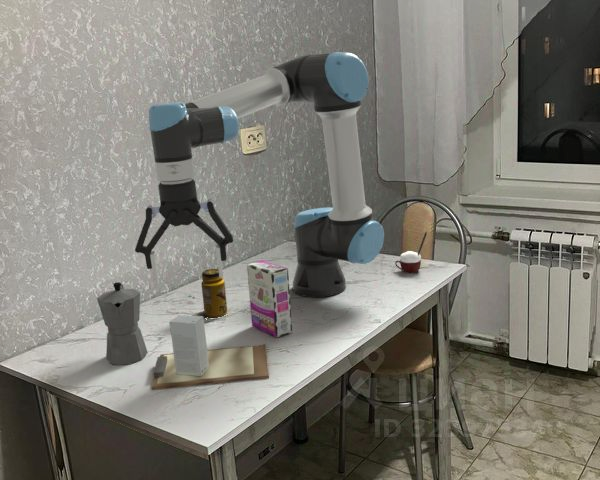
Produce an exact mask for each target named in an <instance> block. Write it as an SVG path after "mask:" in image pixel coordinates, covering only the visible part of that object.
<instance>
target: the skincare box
mask: <svg viewBox="0 0 600 480" xmlns="http://www.w3.org/2000/svg"><path fill="white" fill-rule="evenodd" d="M169 327H170V329H169V330H170V335H171V342H172V343H171V345H172V349H173V351H172V352H173V353H174V361H175V368H176V374H179V375H191V376H202V375H203V374H204V373H205V372H206V371H207V370H208V369H209V361H208V353H207V350H208V347H207V346H208V345H207V338H206V329H205V322H204V319H203V316H194V315H188V314H187V315H186V314H185V315H183V314H177V316H175V317H174V318H173V319H172V320H170V321H169Z"/></svg>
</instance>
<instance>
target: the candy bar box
mask: <svg viewBox="0 0 600 480" xmlns="http://www.w3.org/2000/svg"><path fill="white" fill-rule="evenodd" d="M246 269H247V270H246V271H247V280H248V281H247V283H248V293H249V294H248V295H249V305H250V316H251V317H250V318H251V326H252V327H253V328H255V329H257V330H260V331H262V332H264V333H266V334H268V335H269V336H272V337H275V338H281V337H284V336H287V335H289V334H292V333H293V323H292V310H291V309H292V308H291V293H290V279H289V268H287V267H284V266H281V265H278V264H276V263H275V264H274V263H271V262H268V261H265V260H258V261H254V262H250V263H248V264H246Z"/></svg>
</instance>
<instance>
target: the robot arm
mask: <svg viewBox="0 0 600 480" xmlns="http://www.w3.org/2000/svg"><path fill="white" fill-rule="evenodd" d="M369 79H370V78H369V74H368V70H367V68H366V66H365V64H364V62H363V61H362V59H360V58H359V57H358V56H357V55H355V54H354V53H351V52H340V51H335V52H334V51H333V52H326V53H318V54H306V55H300V56H297V57H295V58H293V59H291V60H287V61H286V62H285V61H284V62H283V63H280V64H279V65H276V66H273V67H270V68H268V69H266V70H265V71H264V73H263V75H260V76H258V77H255V78H252V79H249V80H247V81H244V82H241V83H238V84H236V85H233V86H231V87H230V86H229V87H228V88H225V89H222V90H220V91H216V92H214V93H212V94H208V95H206V96H203V97H200V98H196V99H195V100H192V101H189V102H187V103H184V102H167V103H159V104H153V105H151V106H150V107H149V109H148V124H149V127H148V129H149V131H150V138H151V143H152V145H151V146H152V150H153V151H152V153H153V158H154V162H155V163H154V164H155V174H156V178H157V179H156V180H157V181H158V182H159V183H158V185H157V187H158V194H159V195H158V196H159V201H160V205H159V206H152V205H147V207H146V209H145V220H144V223H143V226H142V228H141V231H140V234H139V236H138V240H137V242H136V244H135V248H134V251H135V253H136V254H138V253H140V254H142V255H144V257H145V264H146V265H145V266H146V269H147V270H151V269H152V270H151V271H152V277H153V283H154V285H155V286H156V285H159V283H160V276H159V269H158V262H157V256H156V255H157V253H156V251H155V250H154V251H153V249H154V248H155V247H156V245H157V244H158V242H159V241H160V239H161V238H162V236H163V235H164V233H165V232H166V231H167V229H168V228H169V226H170V225H171V226H173V227H178V226H190V225H191V224H192V223H193V224H194V225H195V226H196V227H198V228H199V229H200V230H202V232H203V233H205V235H207V236H208V237H209V238H211V240H212V241H213V242H215V243H216V245H215V250H216V251H215V252H216V259H217V269H219V277H223V278H224V270H223V262H224V261H227V259H228V258H227V249H226V247H227V245H229V244H232V243H233V242H234V236H233V235H232V233H231V231H230V230H229V228H228V227H227V225H226V224H225V222H224V221H223V219H222V218H221V216H220V215H219V213H218V212H217V211H216V209H215V204H214V201H213V200H212V199H208V200H207V201H203V202H200V201H199V199H198V195H197V194H198V193H197V185H196V184H197V183H196V181H195V180H194V179H193V178H194V177H195V168H194V167H195V166H194V161H193V159H194V158H193V152H192V151H193V150H192V149H195V148H197V147H203V146H210V145H216V144H218V145H219V144H224V143H226V142H230V141H231V142H232V141H233V140H234V139H235V138H236V137H237V136H238V134H239V129H240V124H239V119H242V118H244V117H245V116H248V115H251V114H253V113H256V112H259V111H261V110H264V109H267V108H268V107H271V106H274V105H275V106H277V107H282V106H285V105H287V104H290V103H291V104H292V103H300V102H302V103H303V102H304V103H305V102H307V103H313V109H314V113H316V115H318V116H319V117H320V118H321V123H322V130H323V138H324V146H325V147H324V148H325V154H326V155H325V156H326V164H327V170H328V178H329V185H330V186H329V187H330V188H329V189H330V194H331V203H332V207H331V206H330V207H318V208H312V209H307V210H302V211H300V212H298V213H297V214H296V215H295V217H294V237H295V249H296V261H297V264H296V267H295V268H296V269H295V273H294V275H293V280H292V290H293V292H294V293H295V294H296V295H299V296H302V297H307V298H320V297H321V298H322V297H323V298H324V297H329V296H334V295H338V294H340V293H342V292H343V291H345V290H346V288H347V286H346V285H347V283H346V278H345V275H344V272H343V270H342V268H341V265H340V262H339V261H344V262H349V263H351V264H362V265H365V264H369V263H371V262H372V261H374V260H375V259H376V258H377V257H378V255H379V254H380V251H381V250H382V247H383V245H384V242H385V241H384V240H385V232H384V227H383V225H381V224H380V222H378V221H376V220H374V215H373V209H372V208H371V207H369V206H368V205H367V204H366V196H365V194H366V193H365V186H364V178H363V169H362V168H363V167H362V157H361V149H360V142H359V141H360V140H359V132H358V131H359V130H358V121H357V120H358V119H357V112H358V111H359V110H360V108H361V107H362V102H361V101H362V100H363V99H364V97H365V96H366V95H367V92H368V91H367V90H369V89H368V88H369V83H370V82H369ZM201 209H203V210H204V212H205V213H208V214H209V216H210V218H211V219H212V220H213V222H214V223H215V225H216V227H217V228H218V230H219V231H220V233H221V234H222V236H223V237H222V236H221V235H220V234H219V233H218V232H217V231H216V230H215V229H213V228H212V227H211V226H210V225H209V224H208V223H207V222H206V221H204V219H203V218H202V217H201V216H200V215H199V212H200V211H201ZM157 214H160V215H161V216H162V218H164V220H163V222H162V223H161V224H160V226H159V228H158V229H157V230H156V232H155V233H154V235H153V236H152V237H151V239H150V240H149V242H148V244H147V245H144V244H145V242H146V238H147V235H148V232H149V229H150V226H151V224H152V222H153V219H154V218H156V217H157Z"/></svg>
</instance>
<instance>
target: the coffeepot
mask: <svg viewBox="0 0 600 480" xmlns="http://www.w3.org/2000/svg"><path fill="white" fill-rule="evenodd" d="M112 285H113V288H114V290H111V291H106V292H103V293H102V294H101V295H99V296H98V297H96V301H97V304H98V306H99V307H98V308H99V310H100V312H101V315H102V319H103V322H104V325H105V326H106V327H107V331H108V332H107V334H106V354H105V358H106V360H107V361H108V363H110V364H112V365H115V366H126V365H130V364H131V365H132V364H135V363H139V362H140V361H141V360H143V359H144V358H145V357H146V356H147V354H148V353H149V352H148V349H147V346H146V343H145V340H144V336H143V334H142V330H141V329H140V327H139V323H138V322H139V321H140V315H141V314H140V311H141V309H140V308H141V307H140V306H141V305H140V304H141V303H140V302H141V292H140V291H138V290H137V289H135V288H124V285H123V284H122V283H121V282H115V283H113V284H112Z"/></svg>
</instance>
